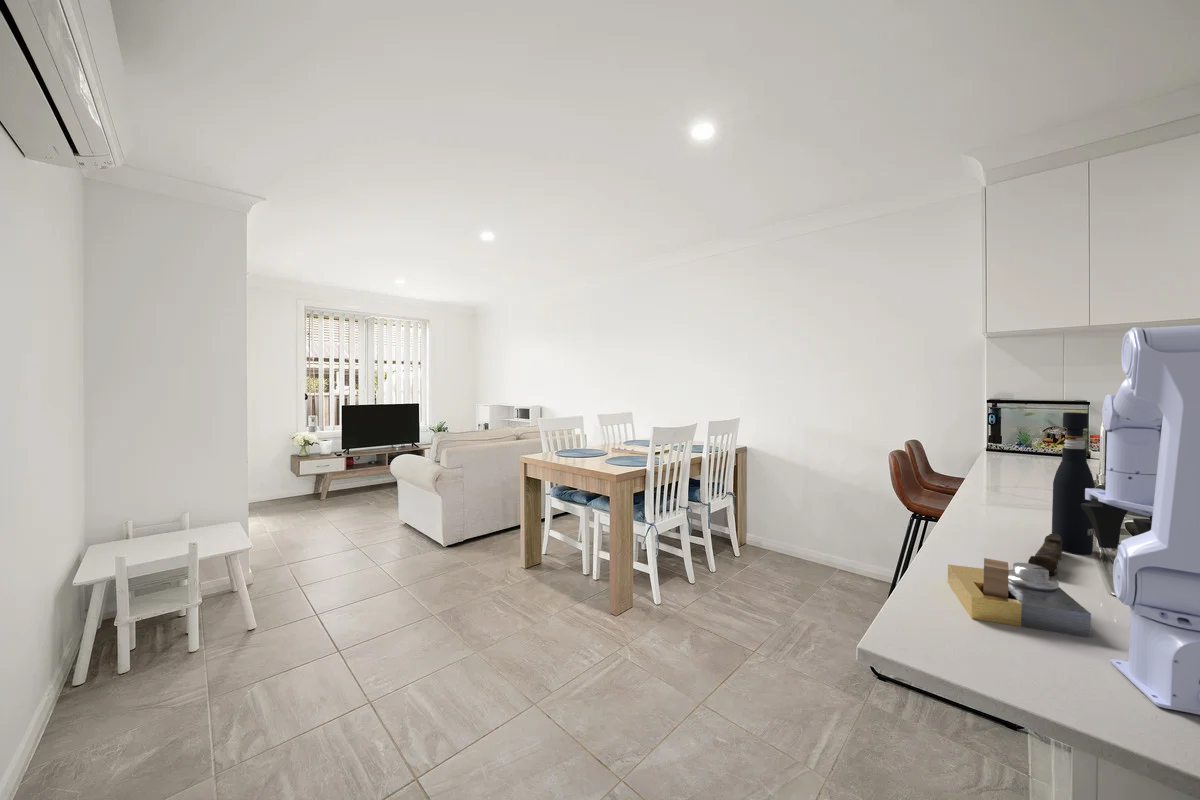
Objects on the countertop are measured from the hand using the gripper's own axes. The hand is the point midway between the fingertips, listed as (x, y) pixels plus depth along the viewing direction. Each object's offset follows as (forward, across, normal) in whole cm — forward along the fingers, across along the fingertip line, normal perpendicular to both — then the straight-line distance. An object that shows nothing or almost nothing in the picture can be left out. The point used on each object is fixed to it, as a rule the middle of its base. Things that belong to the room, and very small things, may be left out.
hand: (1129, 556), depth 74 cm
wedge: (+9, +2, -20) cm, 22 cm away
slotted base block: (+9, 0, -16) cm, 19 cm away
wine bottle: (+10, -30, +14) cm, 35 cm away
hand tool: (+10, -22, +3) cm, 24 cm away
